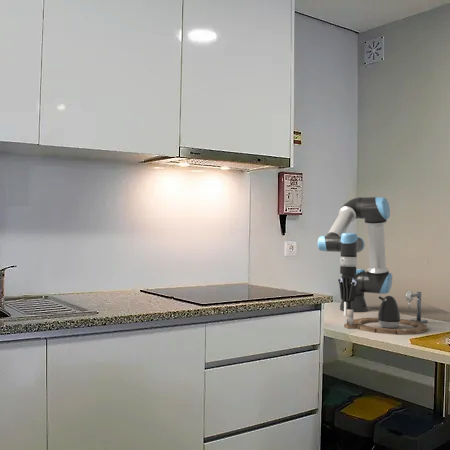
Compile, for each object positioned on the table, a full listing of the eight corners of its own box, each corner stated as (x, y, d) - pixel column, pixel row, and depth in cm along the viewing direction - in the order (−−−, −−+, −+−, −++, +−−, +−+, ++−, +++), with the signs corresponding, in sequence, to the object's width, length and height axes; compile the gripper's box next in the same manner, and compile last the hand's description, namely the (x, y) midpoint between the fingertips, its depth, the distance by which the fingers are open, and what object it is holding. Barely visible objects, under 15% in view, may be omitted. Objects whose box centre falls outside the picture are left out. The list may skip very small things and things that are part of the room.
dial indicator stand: (417, 321, 280) (417, 288, 280) (427, 323, 275) (428, 290, 275) (400, 323, 272) (401, 290, 272) (411, 325, 267) (411, 291, 267)
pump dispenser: (382, 324, 269) (383, 293, 269) (403, 327, 263) (403, 295, 263) (373, 327, 261) (374, 295, 261) (394, 330, 255) (395, 297, 255)
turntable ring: (332, 321, 275) (333, 304, 275) (404, 320, 282) (404, 303, 282) (360, 335, 242) (361, 315, 242) (441, 333, 248) (441, 314, 248)
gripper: (333, 264, 265) (332, 313, 265) (349, 266, 253) (348, 318, 253) (347, 264, 268) (345, 313, 268) (363, 266, 256) (361, 317, 256)
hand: (347, 315), depth 261 cm, fingers closed
